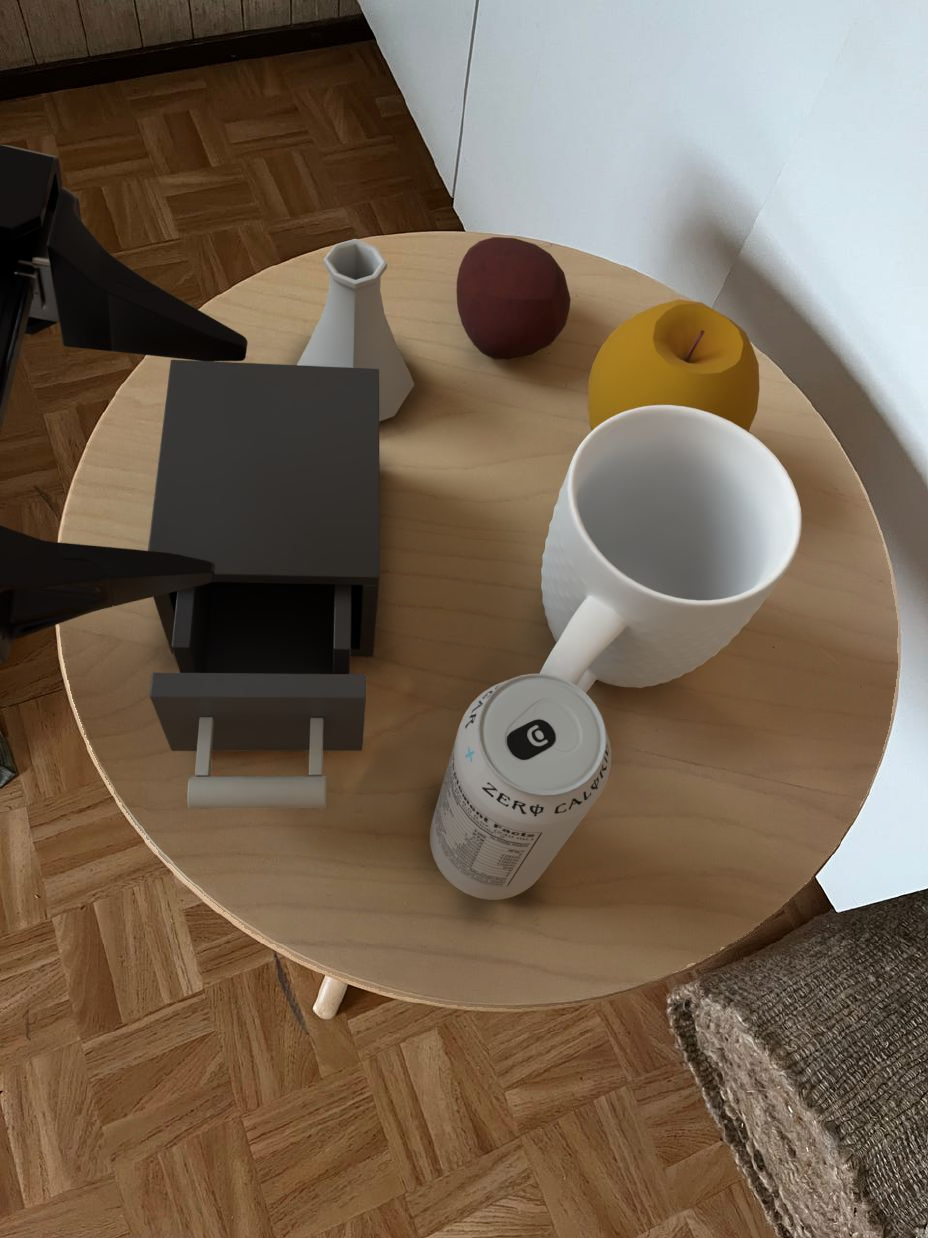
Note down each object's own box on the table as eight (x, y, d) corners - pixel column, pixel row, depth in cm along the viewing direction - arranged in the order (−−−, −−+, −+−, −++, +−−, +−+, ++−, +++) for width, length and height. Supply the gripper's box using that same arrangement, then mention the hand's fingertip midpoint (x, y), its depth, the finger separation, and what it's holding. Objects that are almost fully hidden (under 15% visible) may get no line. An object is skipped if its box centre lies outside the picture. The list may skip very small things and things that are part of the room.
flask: (269, 380, 63) (258, 254, 54) (353, 322, 66) (356, 194, 57) (351, 451, 61) (354, 332, 52) (434, 388, 64) (450, 265, 55)
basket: (361, 833, 49) (365, 788, 43) (162, 835, 48) (138, 790, 42) (363, 556, 56) (366, 485, 50) (190, 552, 55) (172, 479, 49)
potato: (564, 295, 69) (583, 223, 64) (557, 388, 65) (577, 320, 60) (457, 277, 68) (467, 204, 63) (443, 371, 65) (453, 300, 59)
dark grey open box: (373, 657, 55) (380, 577, 47) (171, 655, 53) (144, 572, 46) (373, 466, 60) (379, 368, 53) (191, 460, 59) (170, 358, 52)
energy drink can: (570, 866, 50) (654, 763, 37) (467, 927, 49) (517, 842, 35) (507, 765, 53) (564, 634, 39) (406, 820, 51) (431, 701, 37)
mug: (610, 817, 52) (688, 721, 40) (438, 693, 54) (466, 568, 43) (745, 618, 58) (845, 486, 47) (587, 514, 61) (645, 364, 49)
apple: (542, 415, 64) (582, 272, 53) (680, 388, 66) (744, 247, 56) (599, 543, 60) (654, 416, 49) (743, 510, 62) (825, 382, 52)
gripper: (-514, 531, 23) (203, 625, 26) (-264, -56, 29) (282, 84, 33) (-304, 672, 33) (193, 725, 36) (-153, 212, 39) (255, 297, 43)
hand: (231, 456), depth 37 cm, fingers open, 9 cm apart
